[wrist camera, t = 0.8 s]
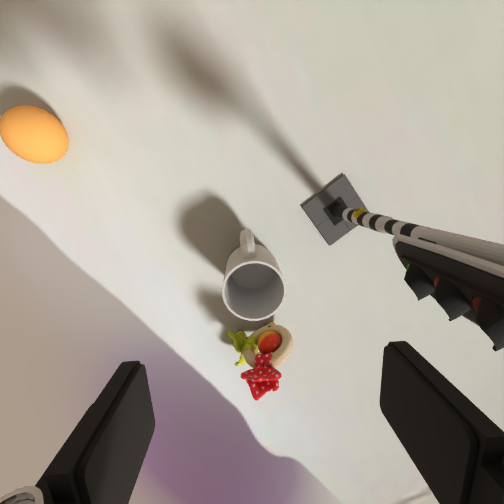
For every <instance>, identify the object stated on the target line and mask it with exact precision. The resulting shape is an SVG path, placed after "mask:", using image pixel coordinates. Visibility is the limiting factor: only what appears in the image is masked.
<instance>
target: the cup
mask: <svg viewBox="0 0 504 504" xmlns="http://www.w3.org/2000/svg"><path fill="white" fill-rule="evenodd" d="M222 297H223V300H224V303H225V305H226V306H227V308H228V309H229V311H230V312H232V313H233V314H234V315H235V316H237V317H239V318H241V319H244V320H249V321H259V320H263V319H266V318H268V317H270V316H272V315H274V314H275V313H276V312H277V311H278V310H279V309H280V308H281V306H282V305H283V303H284V300H285V297H286V284H285V280H284V278H283V275H282V273H281V271H280V269H279V266H278V264H277V262H276V260H275V258H274V256H273V255H272V253H271V252H270V251H269V250H268V249H267V248H265V247H263V246H261V245H257V244H255V243H254V237H253V233H252V232H251V230H249V229H244V230H242V231H241V233H240V247H239V248H237V249H235V250H234V252H233V253H232V254H231V255H230V257H229V259H228V261H227V265H226V270H225V275H224V281H223V286H222Z"/></svg>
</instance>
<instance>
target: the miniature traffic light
mask: <svg viewBox="0 0 504 504" xmlns="http://www.w3.org/2000/svg"><path fill="white" fill-rule="evenodd" d="M302 208H303V209H304V211H305V212H306V213H307V215H308V216H309V218H310V219H311V220H312V222H313V223H314V225H315V226H316V227H317V229H318V230H319V232H320V233H321V234H322V236H323V237H324V239H325V240H326V241H327V243H328V244H329V245H331V244H333V243H334V242H336V241H337V240H338V239H340V238H341V237H342V236H344V235H345V234H347V233H348V232H349V231H351V230H352V229H353V228H355V227H356V226H358V225H360V226H363V227H366V228H369V229H372V230H375V231H378V232H381V233H385V234H386V233H389V234H392V235H395V237H394V238H393V246H394V249H395V251H396V253H397V255H398V257H399V259H400V261H401V262H402V264H403V265H404V267H405V268H406V270H407V271H406V275H405V278H404V280H405V281H406V283H407V284H408V285H409V287H410V288H411V289H412V290H413V292H414V293H415V294H416V296H417V298H418V301H419V300H420V299H422V298H424V297H426V296H428V295H429V294H430V295H431V296H432V297H433V298H434V299H436V301H437V302H438V304H439V305H440V306H441V307H442V308H443V309H444V310H445V312H446V313H447V314H448V316H449V321H452V320H454V319H456V318H458V317H459V316H461V315H462V316H463V317H465V318H467V319H468V320H470V321H472V322H473V323H475V324H476V325H478V326H480V328H481V329H482V330H483V331H484V332H485V333H486V334H487V335H488V336H489V337H490V339H491V340H492V341H493V343H494V346H493V350H494V351H498V350H500V349H502V348H504V245H503V244H498V243H494V242H490V241H485V240H481V239H477V238H472V237H468V236H463V235H459V234H455V233H450V232H446V231H442V230H437V229H433V228H429V227H424V226H420V225H416V224H411V223H407V222H403V221H398V220H394V219H393V218H391V217H388V216H383V215H379V214H374V213H369V212H368V210H367V208H366V207H365V205H364V204H363V202H362V201H361V199H360V198H359V196H358V194H357V193H356V191H355V190H354V188H353V187H352V185H351V184H350V182H349V180H348V179H347V177H346V176H345V175H342V176H341V177H340V178H339V179H337V180H336V181H335V182H333V183H332V184H331V185H329V186H328V187H327V188H326V189H324V190H323V191H322V192H320V193H319V194H318V195H316V196H315V197H314V198H312V199H311V200H310V201H309V202H307V203H306V204H305V205H303V206H302Z"/></svg>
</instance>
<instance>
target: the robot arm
mask: <svg viewBox="0 0 504 504" xmlns="http://www.w3.org/2000/svg"><path fill="white" fill-rule="evenodd" d="M380 407H381V410H382V413H383V414H384V416H385V418H386V419H387V421H388V422H389V424H390V426H391V427H392V429H393V430H394V432H395V434H396V435H397V437H398V438H399V440H400V442H401V443H402V445H403V446H404V448H405V449H406V451H407V453H408V454H409V456H410V457H411V459H412V461H413V462H414V464H415V465H416V467H417V469H418V470H419V472H420V473H421V475H422V476H423V478H424V480H425V481H426V483H427V484H428V486H429V488H430V489H431V491H432V492H433V494H434V496H435V497H436V499H437V500H438V502H439V503H440V504H504V432H503V431H502V430H501V429H500V428H499V427H498V426H497V425H496V424H495V423H494V422H492V421H491V420H490V419H489V418H488V417H487V416H486V415H485V414H484V413H483V412H482V411H481V410H480V409H478V408H477V407H476V406H475V405H474V404H473V403H472V402H471V401H470V400H469V399H468V398H467V397H466V396H464V395H463V394H462V393H461V392H460V391H459V390H458V389H457V388H456V387H455V386H454V385H453V384H452V383H450V382H449V381H448V380H447V379H446V378H445V377H444V376H443V375H442V374H441V373H440V372H439V371H438V370H436V369H435V368H434V367H433V366H432V365H431V364H430V363H429V362H428V361H427V360H426V359H425V358H424V357H422V356H421V355H420V354H419V353H418V352H417V351H416V350H415V349H414V348H413V347H412V346H411V345H410V344H408V343H407V342H406V341H396V342H389V343H388V346H385V348H384V355H383V367H382V379H381V392H380ZM154 428H155V418H154V413H153V407H152V402H151V396H150V391H149V385H148V380H147V374H146V369H145V365H143V364H140V362H139V361H128V362H122V363H121V364H120V366H119V367H118V369H117V370H116V372H115V373H114V375H113V376H112V378H111V379H110V380H109V382H108V383H107V385H106V386H105V388H104V389H103V391H102V392H101V394H100V395H99V397H98V398H97V400H96V401H95V402H94V403H93V404H92V405H91V406H90V407H89V409H88V410H87V411H86V413H85V414H84V416H83V417H82V419H81V420H80V422H79V423H78V424H77V426H76V427H75V429H74V430H73V432H72V433H71V435H70V436H69V438H68V439H67V440H66V442H65V443H64V445H63V446H62V448H61V449H60V451H59V452H58V453H57V455H56V456H55V458H54V459H53V461H52V462H51V464H50V465H49V466H48V468H47V469H46V471H45V472H44V474H43V475H42V477H41V478H40V480H39V481H38V482H37V484H36V485H35V486H25V487H22V488H18V489H15V490H13V491H11V492H10V493H8V494H6V495H4V496H2V497H1V498H0V504H128V502H129V500H130V496H131V494H132V491H133V488H134V486H135V483H136V480H137V477H138V474H139V471H140V469H141V466H142V463H143V460H144V457H145V455H146V452H147V449H148V446H149V444H150V441H151V438H152V435H153V432H154Z"/></svg>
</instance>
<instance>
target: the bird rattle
mask: <svg viewBox="0 0 504 504" xmlns="http://www.w3.org/2000/svg"><path fill="white" fill-rule="evenodd" d="M227 335H228V336H229V337H230V338H231V339H232V340H233V341H234V347H235V349H236V351H237V352H239V353H241V357H240V360H239V362H236V363H235V366H238V365H241V364H244V363H246V362H247V363H248V364H249V365H250V366H251V367H252V368H253V369H251V370H247V371H245V372H243V373H241V378H242V379H246V382H247V383H248V385H249V387H250V390H251V393H252V396H253V398H254V399H255V400H258V399H260V398H261V397H262V396H263V395H264V394H265V393H266V392H268V391H276V390H277V389H278V388H279V381H278V379H280V378H281V373H280V372H279V371H277V370H276V369H275V367H277V366H279V365H280V364H281V363H283V362H284V361H285V360H286V359H287V357H288V356H289V354H290V353H291V351H292V347H293V340H292V336H291V334H290V333H289V331H288V330H287V329H286V328H284V327H282V326H279V325H275V324H274V323H273V322H270V323H269V324H267V325H266V326H264V327H261V328H259V329H258V330H256V331H255V332H254V333H252V334H251V335H250V336H249V337H248V338H247V340H246V334H245V333H244V332H243V331H238V332H237V333H236V334H234V333H233V332H232V331H229V332H227ZM257 345H258V346H257ZM258 349H259V351H260V352H259V353H261V354H259V353H258Z"/></svg>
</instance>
